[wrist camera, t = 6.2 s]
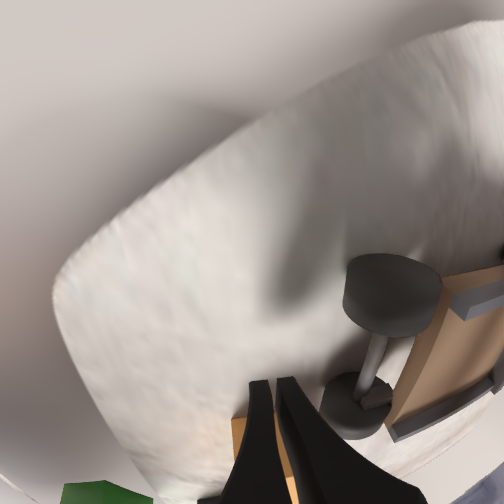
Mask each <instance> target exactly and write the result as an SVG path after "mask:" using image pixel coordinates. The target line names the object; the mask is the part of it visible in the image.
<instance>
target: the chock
mask: <svg viewBox="0 0 504 504" xmlns="http://www.w3.org/2000/svg"><path fill="white" fill-rule="evenodd" d="M274 419H275V428H276V438H277V444H278V450H279V454H280V458H281V463H282V467H283V471H284V474H285V478H286V482H287V485H288V489H289V493H290V496H291V500H292V503H293V504H299V502H298V496H297V491H296V486H295V481H294V476H293V473H292V469H291V466H290V463H289V460H288V456H287V453H286V450H285V447H284V444H283V440H282V437H281V434H280V430H279V426H278V420H277V414H276V412H274ZM246 420H247V417H243V418H236V419H231V425H232V437H233V449H234V460H235V461H236V458H237V455H238V452H239V449H240V445H241V441H242V438H243V434H244V430H245V425H246Z"/></svg>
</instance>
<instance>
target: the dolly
mask: <svg viewBox="0 0 504 504" xmlns="http://www.w3.org/2000/svg"><path fill="white" fill-rule="evenodd" d="M343 308H344V311H345V313H346V314H347V315H348V317H349V318H350V319H351V320H352V321H353V322H355V323H356V324H357V325H359V326H360V327H362V328H364V329H366V330H368V331H370V332H373V333H372V337H371V341H370V344H369V347H368V351H367V354H366V357H365V360H364V364H363V367H362V370H361V372H349V373H344V374H341V375H339V376H337V377H335V378H334V379H332V380H331V381H330V382H329V383H328V385H327V386H326V388H325V390H324V394H323V398H322V402H321V405H320V409H319V414H320V415H321V416H322V417H323V419H324V420H325V421H326V422H327V423H328V424H329V425H330V427H331V428H332V429H333V430H334V431H335V432H336V433H337V434H338V435H339V436H340V437H341V438H342V439H346V440H359V439H364V438H367V437H369V436H371V435H373V434H374V433H375V432H377V431H378V430H379V428H380V427H381V426H382V424H383V422H384V424H385V426H386V428H387V430H388V432H389V434H390V436H391V438H392V440H393V442H394V443H396V442H398V441H401V440H403V439H406V438H408V437H410V436H412V435H414V434H417V433H419V432H421V431H423V430H425V429H427V428H429V427H431V426H433V425H435V424H437V423H439V422H441V421H443V420H444V419H446V418H448V417H450V416H452V415H453V414H455V413H457V412H459V411H460V410H462V409H464V408H465V407H467V406H468V405H470V404H472V403H473V402H475V401H476V400H478V399H479V398H481V397H482V396H484V395H485V394H487V393H488V392H489V391H491V392H492V393H493V394H496V393H497V392H498V391H499V390H501V388H502V387H503V386H504V256H503V260H502V263H501V265H499V266H495V267H491V268H486V269H482V270H477V271H472V272H467V273H462V274H457V275H452V276H447V277H442V278H440V277H439V275H438V274H437V273H436V272H435V271H434V270H432V269H431V268H430V267H428V266H426V265H425V264H423V263H420V262H418V261H416V260H413V259H410V258H407V257H403V256H398V255H391V254H368V255H363V256H360V257H357V258H355V259H353V260H352V261H351V262H350V263H349V264H348V267H347V275H346V282H345V289H344V296H343ZM416 334H417V337H416V339H415V342H414V344H413V347H412V349H411V352H410V354H409V357H408V359H407V362H406V364H405V366H404V368H403V371H402V373H401V375H400V377H399V379H398V382H397V384H396V386H395V388H394V390H392V388H391V386H390V385H389V383H387V384H386V383H385V382H384V381H383V380H381V379H380V378H378V377H376V373H377V370H378V368H379V365H380V362H381V360H382V357H383V354H384V351H385V348H386V345H387V342H388V339H389V337H409V336H413V335H416Z"/></svg>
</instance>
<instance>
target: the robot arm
mask: <svg viewBox="0 0 504 504" xmlns="http://www.w3.org/2000/svg"><path fill="white" fill-rule="evenodd" d="M249 394H250V397H249V408H248V415H247V420H246V425H245V430H244V434H243V438H242V441H241V445H240V449H239V452H238V455H237V458H236V461H235V463H234V466H233V469H232V471H231V474H230V476H229V478H228V481H227V483H226V485H225V487H224V489H223V491H222V494H221V495H220V497H219V499H218V501H217V503H216V504H293V503H292V500H291V496H290V493H289V489H288V485H287V482H286V478H285V474H284V471H283V467H282V463H281V458H280V454H279V450H278V444H277V438H276V428H275V419H274V410H273V401H272V394H271V390H270V386H269V383H268V380H258V381H251V382H250V383H249ZM275 408H276V414H277V420H278V426H279V430H280V434H281V437H282V440H283V444H284V447H285V450H286V453H287V456H288V460H289V463H290V466H291V469H292V473H293V476H294V481H295V486H296V491H297V496H298V502H299V504H428V503H427V501H426V498H425V497H424V495H423V494H422V492H421V491H420V489H419V488H418V487H415V486H413V485H411V484H408V483H406V482H404V481H402V480H400V479H398V478H396V477H394V476H392V475H391V474H389V473H387V472H385V471H384V470H382V469H381V468H379V467H378V466H376V465H375V464H373V463H372V462H370V461H369V460H367V459H366V458H364V457H363V456H362V455H361V454H359V453H358V452H357V451H356V450H354V449H353V448H352V447H351V446H350V445H349V444H348V443H346V442H345V441H344V440H343V439H342V438H341V437H340V436H339V435H338V434H337V433H336V432H335V431H334V430H333V429H332V428H331V427H330V425H329V424H328V423H327V422H326V421H325V420H324V419H323V417H322V416H321V415H320V414H319V412H318V411H317V410H316V409H315V407H314V406H313V405H312V404H311V402H310V401H309V399H308V398H307V397H306V395H305V394H304V392H303V391H302V389H301V388H300V386H299V384H298V383H297V381H296V379H295V378H294V377H293V376H291V377H284V378H277V387H276V404H275ZM450 504H504V462H503V463H502V464H500V465H499V466H498V467H497V468H496V469H495V470H493V472H491V473H490V474H488V475H487V476H485V477H484V478H483V479H481V480H480V481H479V482H477V483H476V484H475V485H474V486H472V487H471V488H470V489H468V490H467V491H466V492H465V493H464V494H463V495H462V496H460V497H459V498H457V499H456V500H454V501H453V502H451V503H450Z"/></svg>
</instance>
